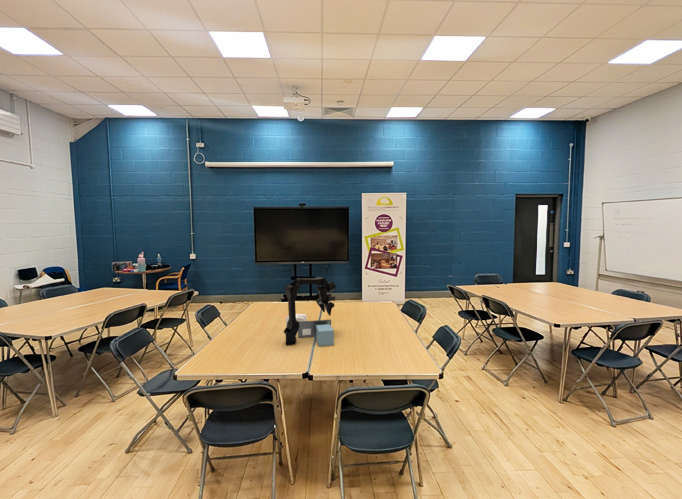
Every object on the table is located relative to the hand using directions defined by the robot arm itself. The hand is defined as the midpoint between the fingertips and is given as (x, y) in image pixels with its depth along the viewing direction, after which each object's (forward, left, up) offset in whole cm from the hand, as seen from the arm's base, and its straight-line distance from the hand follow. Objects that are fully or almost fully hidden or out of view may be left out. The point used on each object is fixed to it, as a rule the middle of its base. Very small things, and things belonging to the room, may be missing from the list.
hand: (326, 313), depth 232 cm
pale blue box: (-5, -18, -15) cm, 24 cm away
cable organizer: (-22, +14, -15) cm, 30 cm away
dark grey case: (-7, -13, -15) cm, 21 cm away
